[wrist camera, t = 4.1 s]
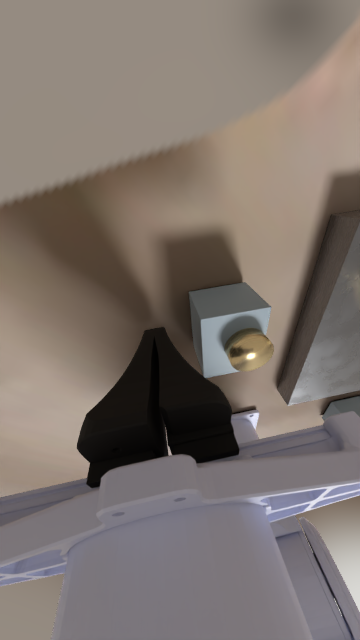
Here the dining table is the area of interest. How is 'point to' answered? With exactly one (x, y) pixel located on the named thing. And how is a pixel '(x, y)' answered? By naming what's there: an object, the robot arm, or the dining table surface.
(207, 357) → the block with brass knob
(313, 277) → the base
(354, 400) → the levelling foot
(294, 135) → the dining table surface
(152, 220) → the dining table surface
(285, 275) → the dining table surface
